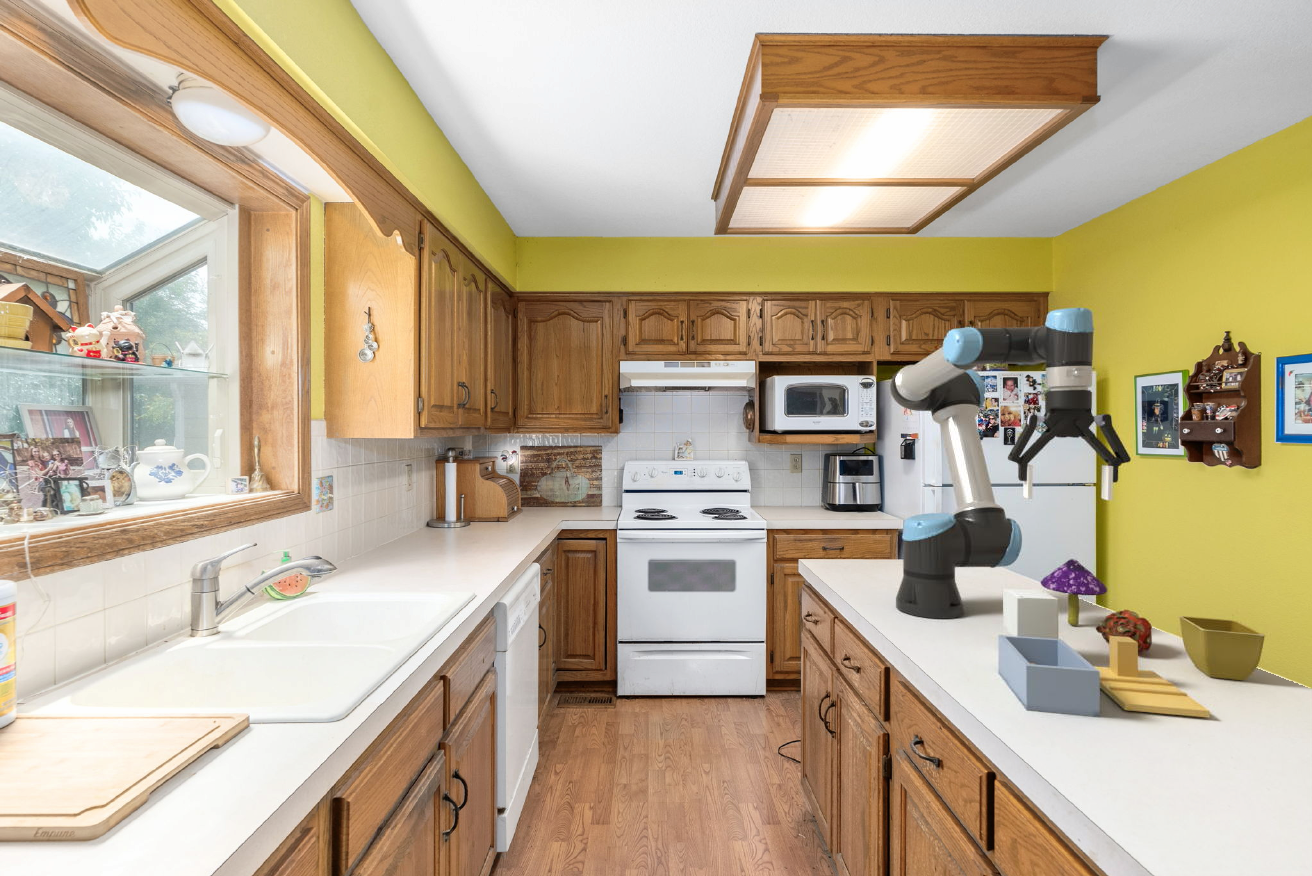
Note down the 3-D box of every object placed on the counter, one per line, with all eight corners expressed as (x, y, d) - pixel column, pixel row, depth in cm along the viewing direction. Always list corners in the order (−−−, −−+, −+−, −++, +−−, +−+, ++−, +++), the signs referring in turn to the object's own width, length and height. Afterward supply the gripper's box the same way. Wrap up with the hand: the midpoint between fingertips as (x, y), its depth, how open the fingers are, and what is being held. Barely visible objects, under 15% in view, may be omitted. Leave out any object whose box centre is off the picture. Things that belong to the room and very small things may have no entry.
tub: (998, 673, 110) (998, 634, 110) (1061, 678, 108) (1061, 638, 108) (1026, 709, 96) (1026, 665, 96) (1099, 716, 93) (1099, 671, 93)
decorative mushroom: (1039, 628, 135) (1039, 561, 135) (1041, 614, 145) (1041, 551, 145) (1109, 638, 128) (1109, 567, 128) (1106, 622, 139) (1105, 557, 138)
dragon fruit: (1130, 668, 116) (1114, 656, 127) (1174, 646, 114) (1154, 636, 125) (1097, 627, 119) (1084, 619, 130) (1139, 605, 117) (1123, 599, 128)
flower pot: (1236, 668, 112) (1236, 619, 112) (1266, 687, 104) (1266, 634, 103) (1178, 662, 115) (1178, 615, 115) (1202, 680, 106) (1202, 629, 106)
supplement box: (1060, 666, 113) (1059, 599, 113) (1016, 664, 115) (1015, 597, 115) (1043, 652, 120) (1043, 589, 120) (1002, 650, 122) (1002, 587, 122)
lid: (1081, 674, 110) (1081, 632, 110) (1152, 679, 108) (1152, 636, 108) (1124, 713, 95) (1124, 665, 95) (1209, 721, 92) (1209, 671, 92)
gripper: (1002, 390, 118) (1001, 499, 118) (1154, 387, 112) (1151, 502, 112) (991, 391, 125) (990, 494, 126) (1133, 389, 119) (1131, 497, 120)
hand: (1066, 498), depth 119 cm, fingers open, 13 cm apart
